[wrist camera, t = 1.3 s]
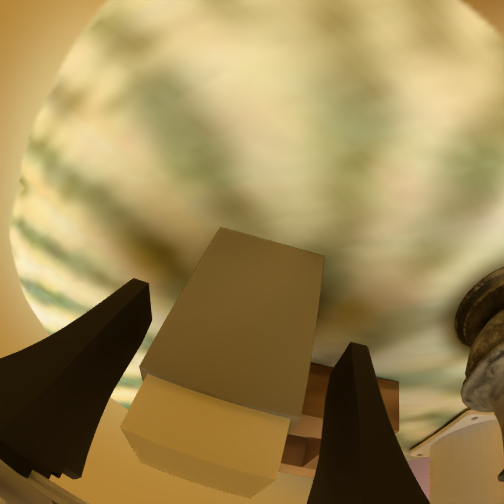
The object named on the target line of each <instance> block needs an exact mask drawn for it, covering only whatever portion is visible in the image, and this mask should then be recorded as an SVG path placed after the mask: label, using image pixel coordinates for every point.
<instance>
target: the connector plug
mask: <svg viewBox="0 0 504 504" xmlns="http://www.w3.org/2000/svg"><path fill="white" fill-rule="evenodd" d="M323 266H324V256H322V255H318V254H315V253H311V252H308V251H304V250H301V249H297V248H294V247H290V246H287V245H283V244H279V243H276V242H272V241H269V240H265V239H261V238H258V237H254V236H251V235H247V234H243V233H240V232H236V231H232V230H229V229H225V228H221V227H220V229H219V230H218V232H217V233H216V235H215V237H214V238H213V240H212V242H211V243H210V245H209V247H208V248H207V250H206V252H205V253H204V255H203V257H202V258H201V260H200V262H199V263H198V265H197V267H196V268H195V270H194V272H193V273H192V275H191V277H190V278H189V280H188V282H187V284H186V285H185V287H184V289H183V290H182V292H181V294H180V296H179V297H178V299H177V301H176V302H175V304H174V306H173V308H172V309H171V311H170V313H169V315H168V316H167V318H166V320H165V322H164V323H163V325H162V327H161V329H160V330H159V332H158V334H157V336H156V337H155V339H154V341H153V343H152V345H151V346H150V348H149V350H148V352H147V353H146V355H145V357H144V359H143V361H142V362H141V364H140V366H139V367H140V372H141V376H142V380H143V383H142V385H141V387H140V389H139V391H138V393H137V394H136V396H135V398H134V400H133V402H132V404H131V406H130V408H129V410H128V412H127V414H126V416H125V418H124V420H123V422H122V424H121V426H120V428H121V429H122V431H123V433H124V435H125V436H126V438H127V440H128V441H129V443H130V445H131V446H132V448H133V450H134V451H135V453H136V455H137V456H138V458H139V460H140V461H141V463H144V464H146V465H148V466H151V467H153V468H156V469H158V470H161V471H163V472H166V473H169V474H171V475H174V476H177V477H179V478H182V479H185V480H189V481H191V482H194V483H197V484H200V485H203V486H206V487H210V488H213V489H216V490H220V491H223V492H227V493H231V494H235V495H238V496H243V497H247V498H252V497H253V496H255V495H256V494H257V493H259V492H260V491H261V490H263V489H264V488H265V487H267V486H268V485H270V484H271V483H272V482H273V481H274V480H276V479H277V475H278V471H279V467H280V463H281V459H282V455H283V450H284V446H285V441H286V437H287V435H288V433H289V432H290V431H291V430H292V428H293V427H294V426H295V424H296V423H297V422H298V421H299V419H300V418H301V414H302V409H303V403H304V398H305V392H306V387H307V381H308V375H309V369H310V363H311V356H312V350H313V343H314V336H315V330H316V322H317V315H318V308H319V300H320V292H321V283H322V275H323Z"/></svg>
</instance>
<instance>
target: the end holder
mask: <svg viewBox="0 0 504 504" xmlns="http://www.w3.org/2000/svg"><path fill="white" fill-rule="evenodd" d="M332 370H333V368H330V367H325V366H321V365H317V364H313V363H310V369H309V375H308V381H307V387H306V392H305V398H304V403H303V409H302V414H301V418H300V419H299V421H298V422H297V423H296V424H295V426H294V427H293V428H292V430H291V431H290V432H289V433H288V435H287V437H286V441H285V446H284V450H283V455H282V459H281V463H280V467H279V471H278V472H282V473H287V474H292V475H297V476H303V477H308V478H314V476H315V472H316V468H317V464H318V459H319V453H320V444H321V435H322V426H323V416H324V405H325V397H326V392H327V387H328V382H329V377H330V373H331V371H332ZM377 382H378V385H379V389H380V392H381V395H382V398H383V401H384V404H385V408H386V411H387V414H388V417H389V419H390V422H391V425H392V428H393V430H394V433H395V434H396V433H397V432H398V431H399V382H396V381H390V380H385V379H380V378H377Z"/></svg>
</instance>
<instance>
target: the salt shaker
mask: <svg viewBox="0 0 504 504" xmlns="http://www.w3.org/2000/svg"><path fill="white" fill-rule="evenodd" d="M455 329H456V333H457V337H458V338H459V339H460V340H461V342H462V343H463V344H465V345H467V346H468V347H470V353H469V358H468V362H467V367H466V372H465V375H466V379H465V380H464V382H463V386H462V389H461V397H462V401H463V403H464V404H465V405H466V406H467V407H468V408H470V409H472V410H475V411H478V412H494V414H495V416H496V418H497V420H498V423H499V425H500V428H501V433H502V441H503V450H504V267H503V268H501V269H499V270H497V271H494V272H492V273H491V274H490V275H488V276H487V277H485V278H484V279H482V280H481V281H480V282H479V283H478V284H477V285H476V286H475V287H474V288H472V289H471V290H470V291H469V292H468V294H467V295H466V297H465V298H464V300H463V301H462V303H461V304H460V306H459V309H458V311H457V314H456V318H455ZM498 481H500V482H504V469H503V470H502V471H501V472H500V473H499V475H498Z"/></svg>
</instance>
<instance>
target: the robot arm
mask: <svg viewBox="0 0 504 504" xmlns="http://www.w3.org/2000/svg"><path fill="white" fill-rule="evenodd" d="M151 322H152V313H151V303H150V292H149V283H147V282H144V281H141V280H138V279H135V278H133V279H132V280H130V281H129V282H128V283H126V284H125V285H123V286H122V287H121V288H119V289H118V290H117V291H115V292H114V293H113V294H111V295H110V296H109V297H107V298H106V299H105V300H103V301H102V302H101V303H99V304H98V305H96V306H95V307H94V308H92V309H91V310H89V311H88V312H87V313H85V314H84V315H82V316H81V317H79V318H78V319H76V320H75V321H73V322H72V323H70V324H69V325H67V326H65V327H64V328H62V329H61V330H59V331H57V332H56V333H54V334H52V335H50V336H49V337H47V338H45V339H43V340H41V341H39V342H37V343H35V344H33V345H31V346H29V347H27V348H25V349H23V350H21V351H18V352H16V353H14V354H11V355H8V356H6V357H3V358H0V504H89V503H87V502H85V501H84V500H82V499H80V498H79V497H77V496H75V495H73V494H72V493H70V492H68V491H66V490H65V489H63V488H61V487H60V486H58V485H57V484H55V483H54V482H52V481H50V480H49V478H50V476H51V474H52V475H54V476H56V477H57V478H60V476H61V474H62V473H63V474H65V475H66V476H68V477H70V478H72V479H78V478H80V477H82V472H83V469H84V465H85V462H86V458H87V454H88V452H89V449H90V446H91V443H92V440H93V437H94V434H95V431H96V429H97V426H98V424H99V421H100V419H101V416H102V414H103V412H104V409H105V407H106V405H107V402H108V400H109V398H110V396H111V394H112V392H113V390H114V388H115V387H116V385H117V383H118V382H119V380H120V378H121V377H122V375H123V373H124V372H125V370H126V369H127V367H128V365H129V364H130V362H131V360H132V359H133V357H134V355H135V354H136V352H137V350H138V349H139V347H140V345H141V344H142V342H143V339H144V337H145V335H146V333H147V331H148V329H149V326H150V324H151ZM409 456H412V457H430V463H431V464H430V495H429V500H428V499H427V497H426V496H425V494H424V492H423V491H422V489H421V487H420V485H419V484H418V482H417V480H416V478H415V476H414V474H413V473H412V471H411V469H410V467H409V465H408V463H407V461H406V459H405V456H404V454H403V452H402V450H401V447H400V445H399V443H398V440H397V438H396V435H395V433H394V430H393V428H392V425H391V422H390V419H389V417H388V414H387V411H386V408H385V404H384V401H383V398H382V395H381V392H380V389H379V385H378V382H377V378H376V375H375V371H374V368H373V364H372V361H371V357H370V353H369V349H368V347H367V346H365V345H361V344H357V343H353V342H350V344H349V345H348V347H347V349H346V350H345V352H344V353H343V355H342V356H341V358H340V359H339V361H338V362H337V364H336V365H335V367H334V368H333V370H332V371H331V373H330V377H329V382H328V387H327V392H326V397H325V405H324V416H323V426H322V435H321V444H320V453H319V459H318V464H317V468H316V472H315V476H314V480H313V484H312V488H311V491H310V494H309V498H308V501H307V504H504V482H500V481H498V475H499V473H500V472H501V471H502V470H503V469H504V450H503V441H502V433H501V428H500V425H499V423H498V420H497V418H496V416H495V414H494V412H478V411H475V410H469V411H466V412H465V413H463V414H462V415H461V416H459V417H458V418H457V419H455V420H454V421H453V422H451V423H450V424H449V425H447V426H446V427H445V428H443V429H442V430H440V431H439V432H438V433H436V434H435V435H433V436H432V437H430V438H429V439H427V440H426V441H424V442H423V443H421V444H420V445H418V446H417V447H415V448H413V449H412V450H410V451H409Z"/></svg>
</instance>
